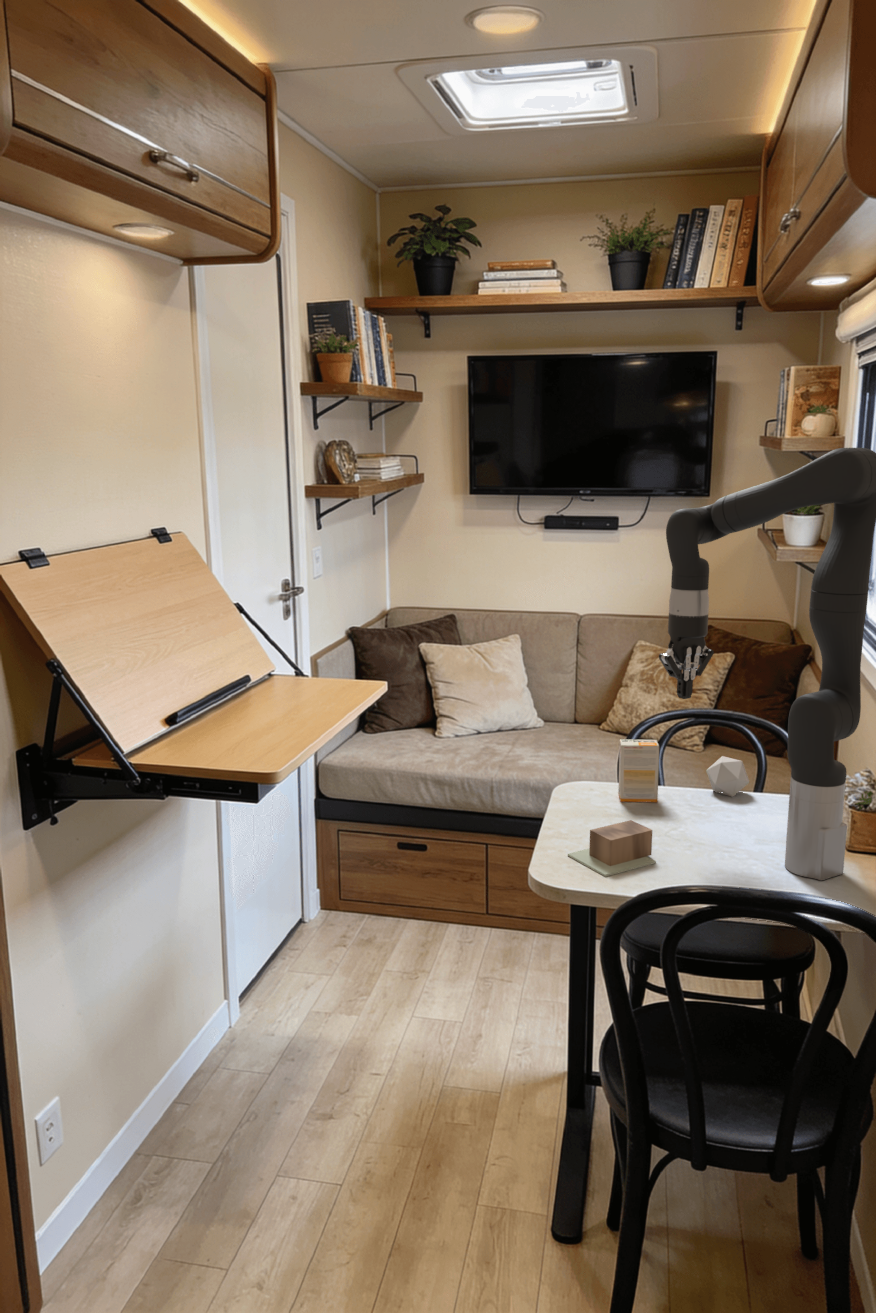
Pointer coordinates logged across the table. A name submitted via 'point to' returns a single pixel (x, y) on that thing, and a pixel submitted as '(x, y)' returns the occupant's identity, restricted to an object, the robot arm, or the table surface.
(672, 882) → the table surface
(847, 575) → the robot arm
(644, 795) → the supplement box
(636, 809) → the table surface
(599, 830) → the walnut block
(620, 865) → the mat
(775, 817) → the table surface
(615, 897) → the table surface
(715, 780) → the die
